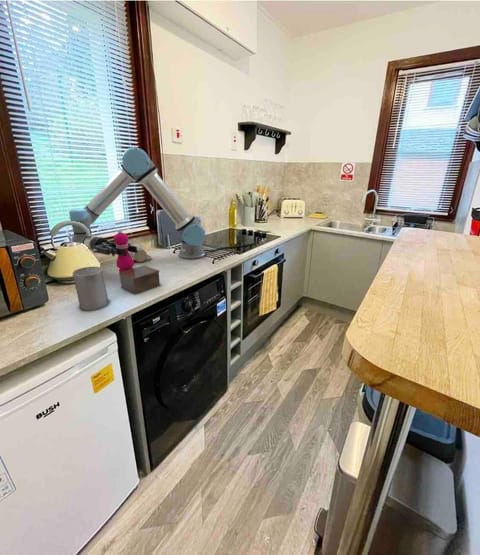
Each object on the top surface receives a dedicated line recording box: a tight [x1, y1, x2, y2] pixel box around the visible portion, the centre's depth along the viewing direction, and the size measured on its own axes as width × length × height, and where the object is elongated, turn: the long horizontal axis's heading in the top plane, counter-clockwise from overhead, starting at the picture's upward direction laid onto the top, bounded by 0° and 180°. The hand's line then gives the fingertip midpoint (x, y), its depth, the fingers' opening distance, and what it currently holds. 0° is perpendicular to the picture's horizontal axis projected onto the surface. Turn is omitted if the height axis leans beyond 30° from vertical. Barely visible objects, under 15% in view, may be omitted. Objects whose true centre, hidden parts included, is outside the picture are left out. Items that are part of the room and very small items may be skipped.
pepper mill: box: [113, 229, 135, 273], centre depth 121 cm, size 7×7×20 cm
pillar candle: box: [72, 266, 109, 311], centre depth 101 cm, size 10×10×15 cm
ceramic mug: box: [128, 245, 152, 263], centre depth 153 cm, size 11×8×8 cm
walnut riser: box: [118, 264, 161, 295], centre depth 119 cm, size 12×11×7 cm
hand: (131, 251), depth 119 cm, fingers closed on pepper mill, 5 cm apart
